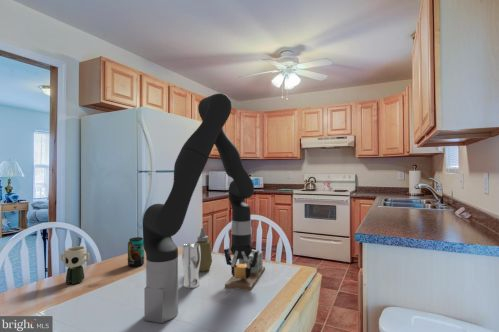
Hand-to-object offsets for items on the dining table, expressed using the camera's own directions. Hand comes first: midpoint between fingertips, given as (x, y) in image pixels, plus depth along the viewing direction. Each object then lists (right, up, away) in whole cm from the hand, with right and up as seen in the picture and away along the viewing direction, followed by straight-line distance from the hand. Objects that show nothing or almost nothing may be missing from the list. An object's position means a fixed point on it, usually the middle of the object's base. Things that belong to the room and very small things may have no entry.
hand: (241, 276), depth 108 cm
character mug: (-65, -3, +3) cm, 65 cm away
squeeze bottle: (-17, -3, +16) cm, 23 cm away
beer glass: (-19, -3, -1) cm, 19 cm away
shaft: (+3, 0, +9) cm, 9 cm away
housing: (+2, -3, +6) cm, 7 cm away
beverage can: (-49, -3, +22) cm, 54 cm away
